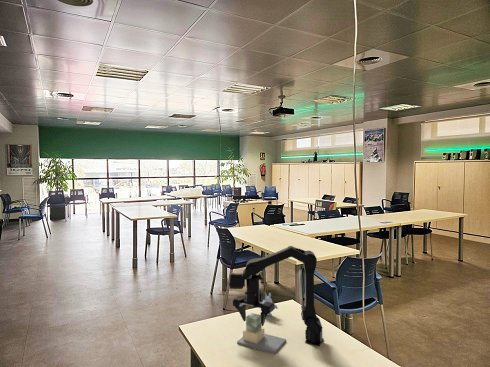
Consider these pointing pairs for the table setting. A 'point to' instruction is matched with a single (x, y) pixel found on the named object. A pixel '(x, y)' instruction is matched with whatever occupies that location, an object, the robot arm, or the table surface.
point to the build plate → (261, 341)
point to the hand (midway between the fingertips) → (253, 323)
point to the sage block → (253, 322)
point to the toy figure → (268, 299)
